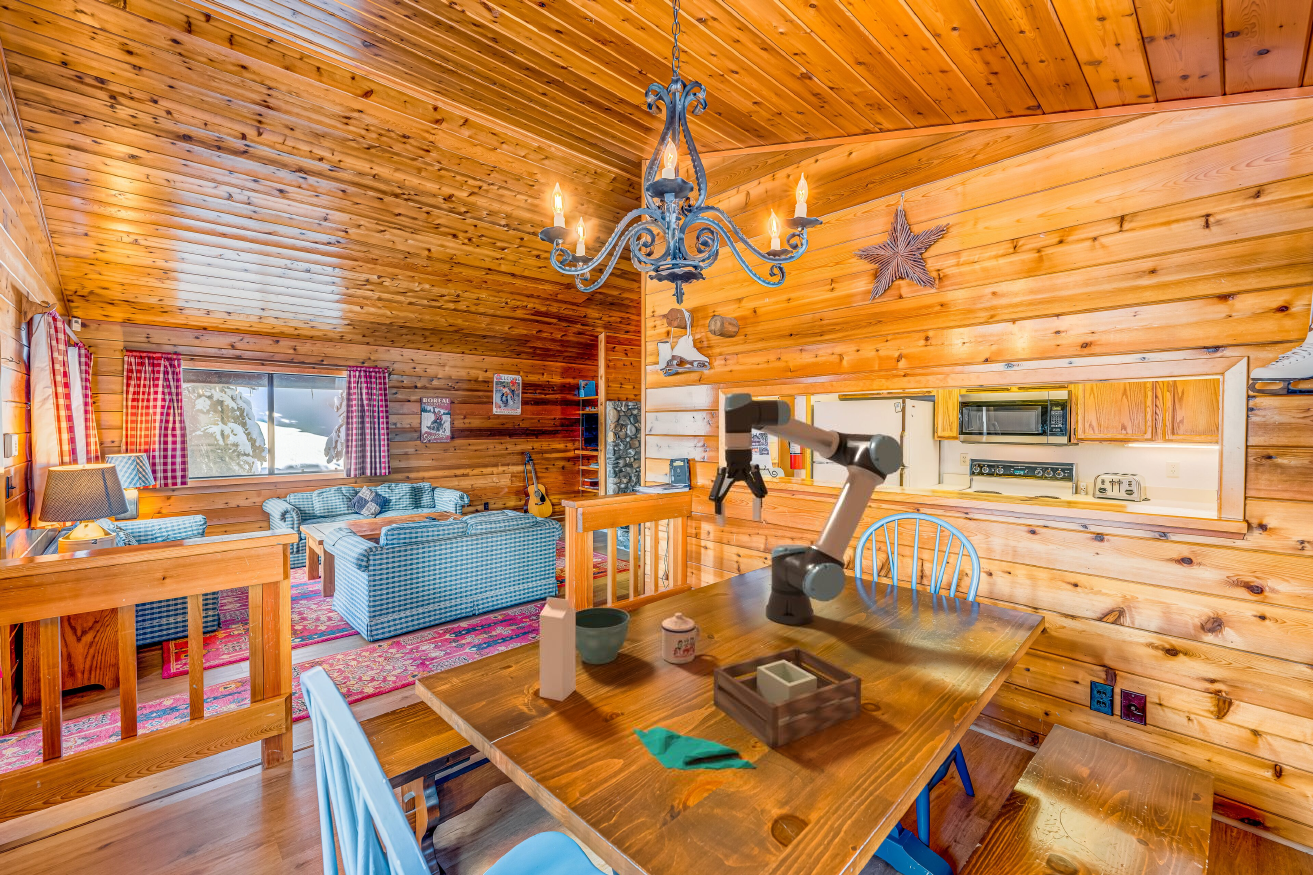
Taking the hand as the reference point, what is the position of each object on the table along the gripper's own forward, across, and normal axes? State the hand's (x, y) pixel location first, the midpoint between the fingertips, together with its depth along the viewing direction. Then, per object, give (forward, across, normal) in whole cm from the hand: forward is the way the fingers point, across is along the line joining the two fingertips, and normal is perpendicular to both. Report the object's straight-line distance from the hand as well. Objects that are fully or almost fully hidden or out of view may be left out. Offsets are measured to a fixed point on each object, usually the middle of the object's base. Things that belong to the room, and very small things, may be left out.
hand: (739, 523), depth 153 cm
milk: (+33, +55, -1) cm, 64 cm away
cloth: (+34, +43, +32) cm, 64 cm away
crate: (+34, +16, +32) cm, 50 cm away
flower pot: (+33, +38, -13) cm, 53 cm away
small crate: (+33, +16, +32) cm, 49 cm away
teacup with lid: (+34, +19, -2) cm, 39 cm away
